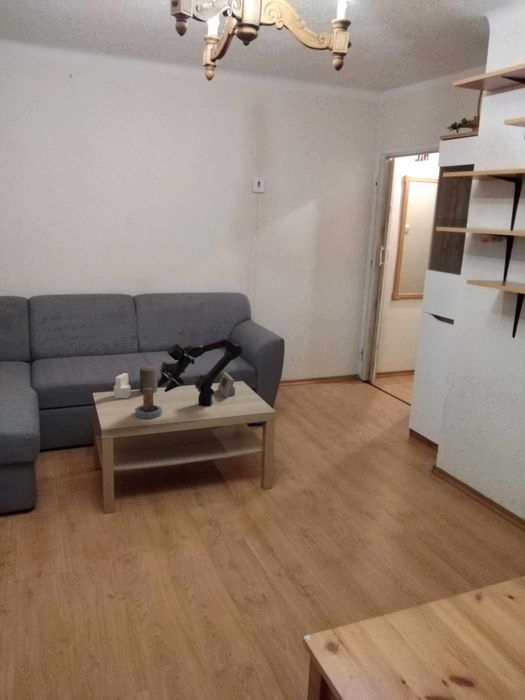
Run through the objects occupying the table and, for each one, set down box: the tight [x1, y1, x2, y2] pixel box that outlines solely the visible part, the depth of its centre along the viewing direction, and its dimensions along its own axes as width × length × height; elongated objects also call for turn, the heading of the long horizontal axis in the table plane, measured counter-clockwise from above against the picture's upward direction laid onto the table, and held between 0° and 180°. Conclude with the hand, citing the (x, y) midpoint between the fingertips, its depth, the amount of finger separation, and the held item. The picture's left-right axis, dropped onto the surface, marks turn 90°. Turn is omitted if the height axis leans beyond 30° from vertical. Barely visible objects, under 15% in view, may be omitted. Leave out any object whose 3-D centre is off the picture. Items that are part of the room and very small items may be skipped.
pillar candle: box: [139, 365, 158, 394], centre depth 315 cm, size 10×10×15 cm
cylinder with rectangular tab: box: [113, 372, 132, 399], centre depth 305 cm, size 9×9×12 cm
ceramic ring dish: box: [134, 404, 163, 420], centre depth 281 cm, size 13×13×3 cm
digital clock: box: [217, 371, 236, 398], centre depth 316 cm, size 16×9×11 cm, turn 8°
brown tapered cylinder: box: [142, 388, 154, 412], centre depth 279 cm, size 5×5×12 cm
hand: (161, 389), depth 282 cm, fingers open, 9 cm apart
